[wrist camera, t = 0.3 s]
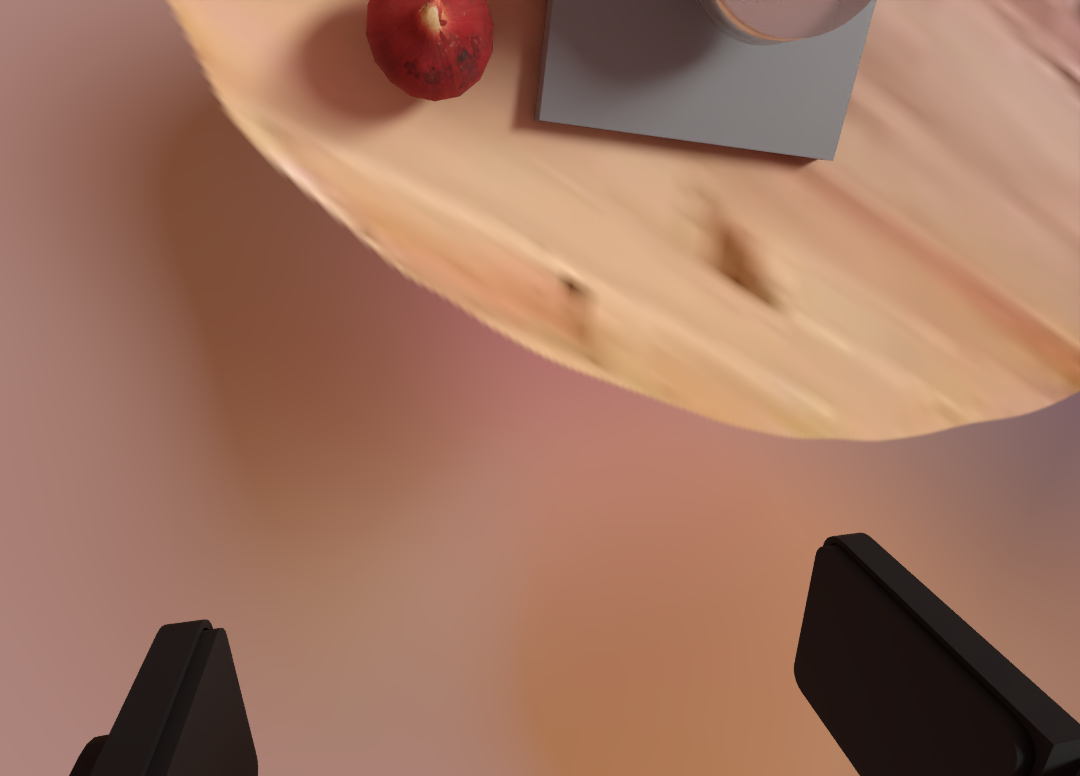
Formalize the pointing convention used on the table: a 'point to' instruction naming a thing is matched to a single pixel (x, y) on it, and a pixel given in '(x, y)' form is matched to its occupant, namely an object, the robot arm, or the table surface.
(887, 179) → the table surface
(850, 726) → the robot arm
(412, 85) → the onion
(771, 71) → the base
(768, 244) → the table surface
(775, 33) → the cap
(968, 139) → the table surface
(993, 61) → the table surface
